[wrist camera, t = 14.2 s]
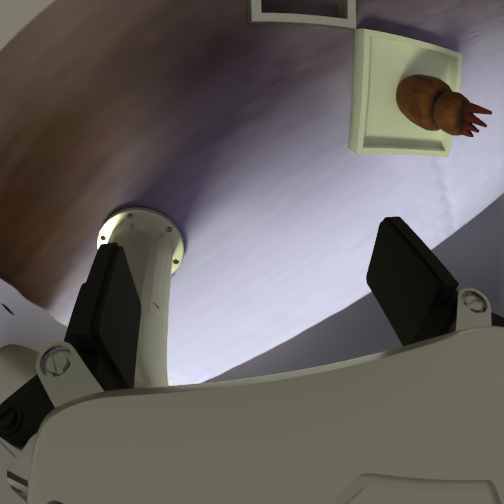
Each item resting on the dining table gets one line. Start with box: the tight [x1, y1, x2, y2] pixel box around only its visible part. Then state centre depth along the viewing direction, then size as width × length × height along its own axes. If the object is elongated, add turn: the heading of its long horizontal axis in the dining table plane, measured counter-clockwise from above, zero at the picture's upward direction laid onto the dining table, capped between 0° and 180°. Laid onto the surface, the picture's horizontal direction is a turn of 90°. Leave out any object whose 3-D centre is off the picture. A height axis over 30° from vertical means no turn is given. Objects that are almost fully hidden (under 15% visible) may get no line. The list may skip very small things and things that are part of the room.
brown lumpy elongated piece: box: [396, 74, 492, 137], centre depth 27 cm, size 7×6×15 cm
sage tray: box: [348, 29, 462, 157], centre depth 33 cm, size 16×16×2 cm
